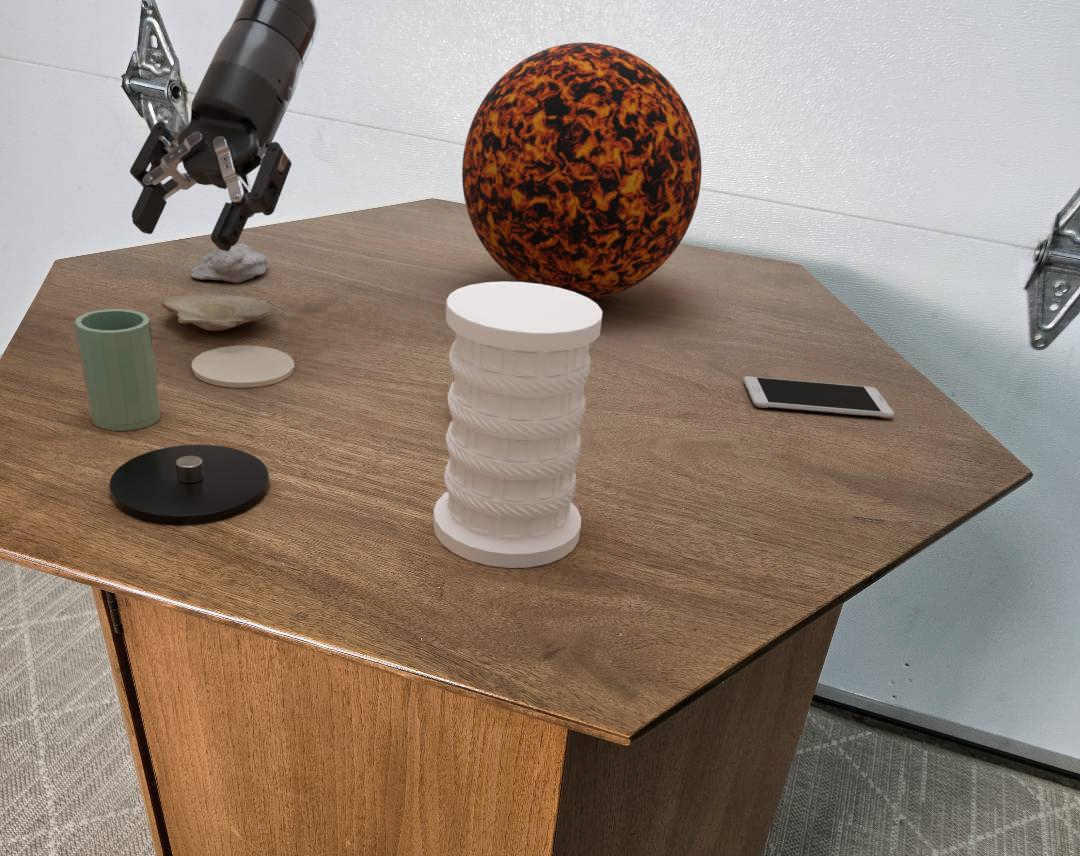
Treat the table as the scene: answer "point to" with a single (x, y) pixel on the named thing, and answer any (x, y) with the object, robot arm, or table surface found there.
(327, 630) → the table surface
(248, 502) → the lid
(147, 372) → the pot
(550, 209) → the ball
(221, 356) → the coaster
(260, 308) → the seashell
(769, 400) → the smartphone
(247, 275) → the stone
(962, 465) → the table surface
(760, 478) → the table surface
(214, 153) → the robot arm
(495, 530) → the decorative container
